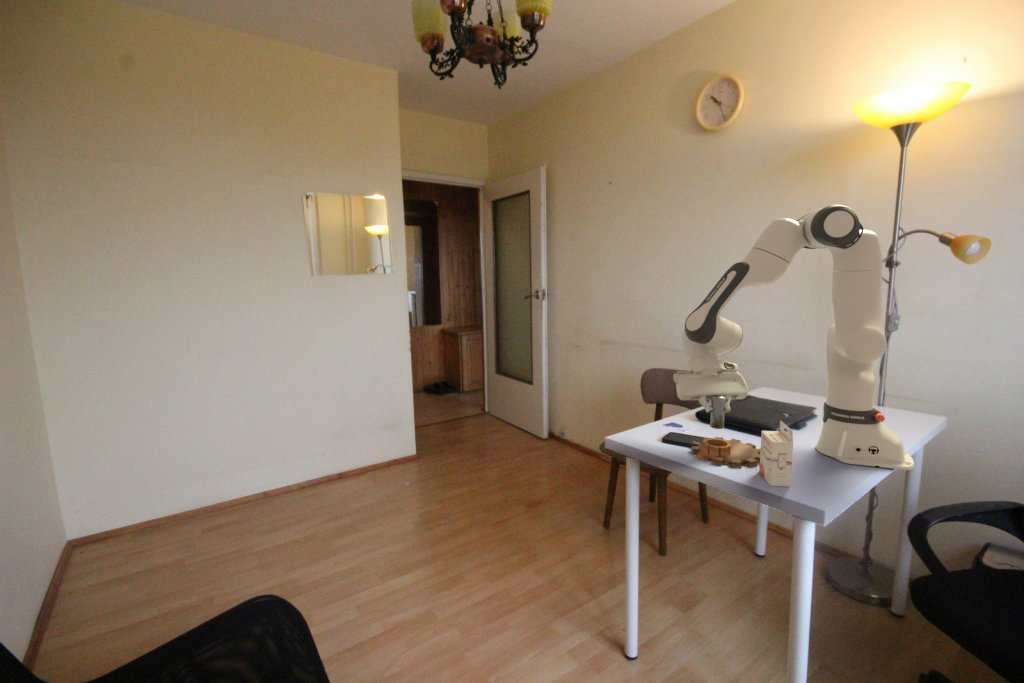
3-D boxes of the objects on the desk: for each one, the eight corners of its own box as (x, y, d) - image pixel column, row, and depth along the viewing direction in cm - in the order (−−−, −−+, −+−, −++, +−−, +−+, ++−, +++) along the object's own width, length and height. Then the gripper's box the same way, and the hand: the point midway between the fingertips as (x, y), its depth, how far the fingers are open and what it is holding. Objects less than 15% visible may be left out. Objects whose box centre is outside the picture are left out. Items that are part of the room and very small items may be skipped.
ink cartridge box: (757, 471, 124) (760, 419, 122) (777, 472, 123) (781, 419, 121) (769, 486, 116) (773, 430, 114) (791, 487, 115) (795, 430, 113)
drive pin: (721, 424, 135) (722, 395, 134) (725, 428, 132) (727, 398, 131) (708, 424, 136) (710, 394, 135) (712, 428, 132) (713, 398, 131)
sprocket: (767, 449, 139) (768, 436, 139) (761, 473, 123) (761, 459, 122) (698, 437, 150) (699, 425, 149) (684, 458, 134) (684, 445, 133)
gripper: (674, 365, 138) (686, 406, 130) (742, 364, 138) (758, 405, 130) (669, 377, 143) (679, 417, 135) (734, 375, 143) (749, 415, 135)
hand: (718, 411), depth 133 cm, fingers closed on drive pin, 4 cm apart
